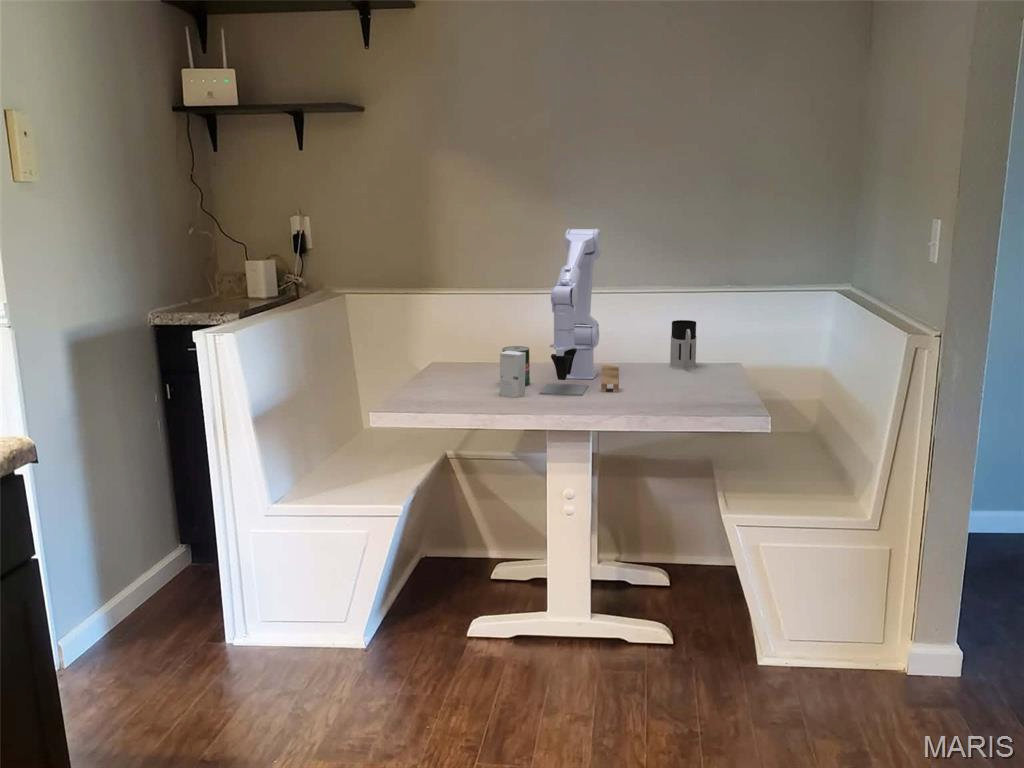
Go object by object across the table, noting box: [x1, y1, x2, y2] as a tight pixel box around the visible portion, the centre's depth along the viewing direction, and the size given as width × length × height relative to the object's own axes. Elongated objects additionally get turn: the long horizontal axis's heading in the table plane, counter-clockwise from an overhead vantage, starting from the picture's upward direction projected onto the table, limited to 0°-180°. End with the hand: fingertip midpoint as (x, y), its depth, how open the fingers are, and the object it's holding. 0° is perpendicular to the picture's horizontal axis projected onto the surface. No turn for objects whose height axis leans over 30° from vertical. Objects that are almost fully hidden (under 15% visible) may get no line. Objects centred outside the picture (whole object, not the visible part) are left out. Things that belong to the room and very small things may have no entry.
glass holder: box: [669, 319, 697, 371], centre depth 265 cm, size 9×14×15 cm, turn 179°
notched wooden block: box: [600, 364, 620, 393], centre depth 238 cm, size 4×4×7 cm
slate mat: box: [538, 383, 589, 397], centre depth 240 cm, size 12×12×1 cm
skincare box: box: [499, 351, 526, 399], centre depth 234 cm, size 6×4×12 cm
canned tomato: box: [501, 345, 531, 388], centre depth 247 cm, size 8×8×11 cm
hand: (564, 376), depth 239 cm, fingers open, 7 cm apart
